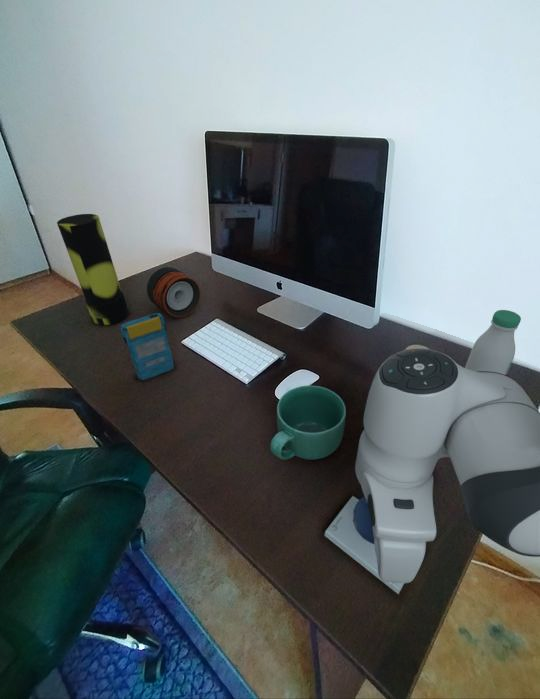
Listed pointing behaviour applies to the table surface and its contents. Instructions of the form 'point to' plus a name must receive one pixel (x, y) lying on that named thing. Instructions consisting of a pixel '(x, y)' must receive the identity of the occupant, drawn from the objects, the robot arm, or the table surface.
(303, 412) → the mug
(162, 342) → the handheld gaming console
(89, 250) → the container
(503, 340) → the milk bottle
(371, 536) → the jar lid
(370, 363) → the table surface
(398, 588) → the hard drive
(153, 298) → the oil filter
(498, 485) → the robot arm
